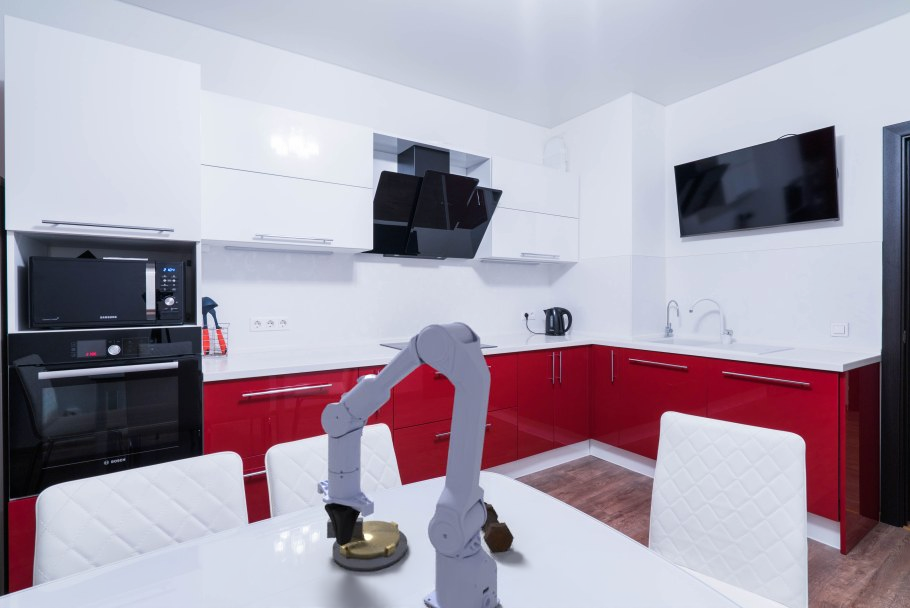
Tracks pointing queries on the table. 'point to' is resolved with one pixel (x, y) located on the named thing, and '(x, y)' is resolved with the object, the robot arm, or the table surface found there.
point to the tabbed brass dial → (369, 539)
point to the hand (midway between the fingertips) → (344, 542)
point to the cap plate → (370, 563)
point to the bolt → (496, 532)
